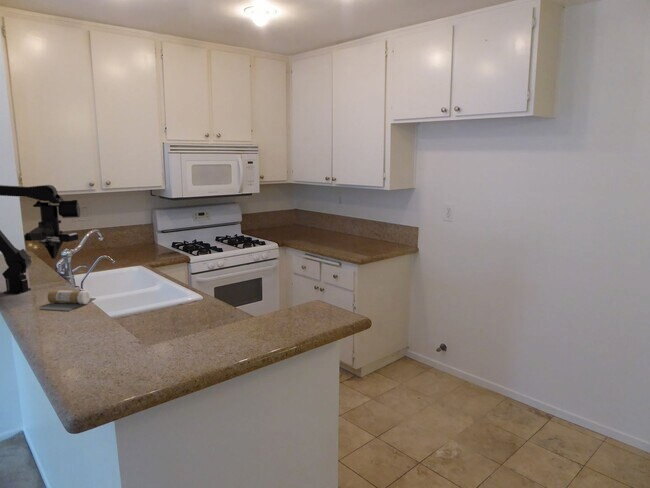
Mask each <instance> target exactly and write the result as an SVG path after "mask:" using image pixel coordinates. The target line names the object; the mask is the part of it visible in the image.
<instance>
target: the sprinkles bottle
mask: <svg viewBox="0 0 650 488" xmlns="http://www.w3.org/2000/svg"><path fill="white" fill-rule="evenodd" d="M90 298H91V295H90V292H89V291H88V290H59V289H58V290H55V289H51V290H50V291H48V293H47V297H46V299H47V301H48V302H49V303H50V304H52V303H79V304H84V305H87V304H88V303H90V302H89V300H90Z"/></svg>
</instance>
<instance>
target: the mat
mask: <svg viewBox="0 0 650 488" xmlns="http://www.w3.org/2000/svg"><path fill="white" fill-rule="evenodd" d="M95 300H97V298H95V297H90V300H89V302H88V303H91V302H93V301H95ZM83 305H85V304H79V303H50V304H48V305H45V306H42V307H40V308H39V310H40V311H42V310H43V311H57V312H58V311H59V312H72V311H73V310H75V309H77V308H79V307H82V306H83Z"/></svg>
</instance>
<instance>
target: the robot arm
mask: <svg viewBox="0 0 650 488" xmlns="http://www.w3.org/2000/svg"><path fill="white" fill-rule="evenodd" d="M0 196H4V197H21V198H22V197H23V198H30V199H34V200H37V201H36V202H35V204H33V205H32V207H34V208H39V211H40V212H39V214H40V221H39V222H38V223H37V224H38V225H37V227H34V229H32V230H31V231H29V232H26V233H25V235H24V241H26V242H27V241H28V242H29V241H30V242H31V241H32V242H33V241H38V243H39V244H41V245H43V246H44V248H45V249H46V250H47V252H48V254H49V257H50V258H51V259H52V260H56V259H57V257H58V256H57V255H58V254H59V251H60V249H61V247H62V245H63V243H68V242H69V243H70V242H74V241H78V240H79V234H78V233H77V232H73V231H72V232H71V231H70V232H64V233H63V230H60V224H62V220H61V219H60V220H59V216H60V217H62V219H69V218H70V219H72V218H73V219H76V218H80V217H81V207H80V205H79V201H78V199H72V200H69V199H68V200H64V198H63V197H61V195H60V194H59V193H58V190H57V188H56V187H55V186H54V185H52V184H42V185H41V184H40V185H34V186H22V185H20V186H18V185H3V184H2V185H1V184H0ZM0 253H1V254H2V255H3V258H4V262H5V264H6V265H7V268H6V269H5V270H4V271H3V272H2V277H3V278H4V280H5V286H6V290H5V291H3V294H13V295H15V294H16V295H18V294H22V293H24V292H28V291H30V290H32V288H31V287H29V283H28V279H27V274H26V273H27V270H28V269H29V268H30V267H31V266H32V260H31V257H32V256H31V255H29V254H28V253H27V251H26V250H25V248H22V249H21V250H20V249H18V248H17V247H15V245H13V243H12V242H11V241H10V240H9V239H8V237H7V236H6V235H5V234H4V232H3V231H2V230H1V229H0Z"/></svg>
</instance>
